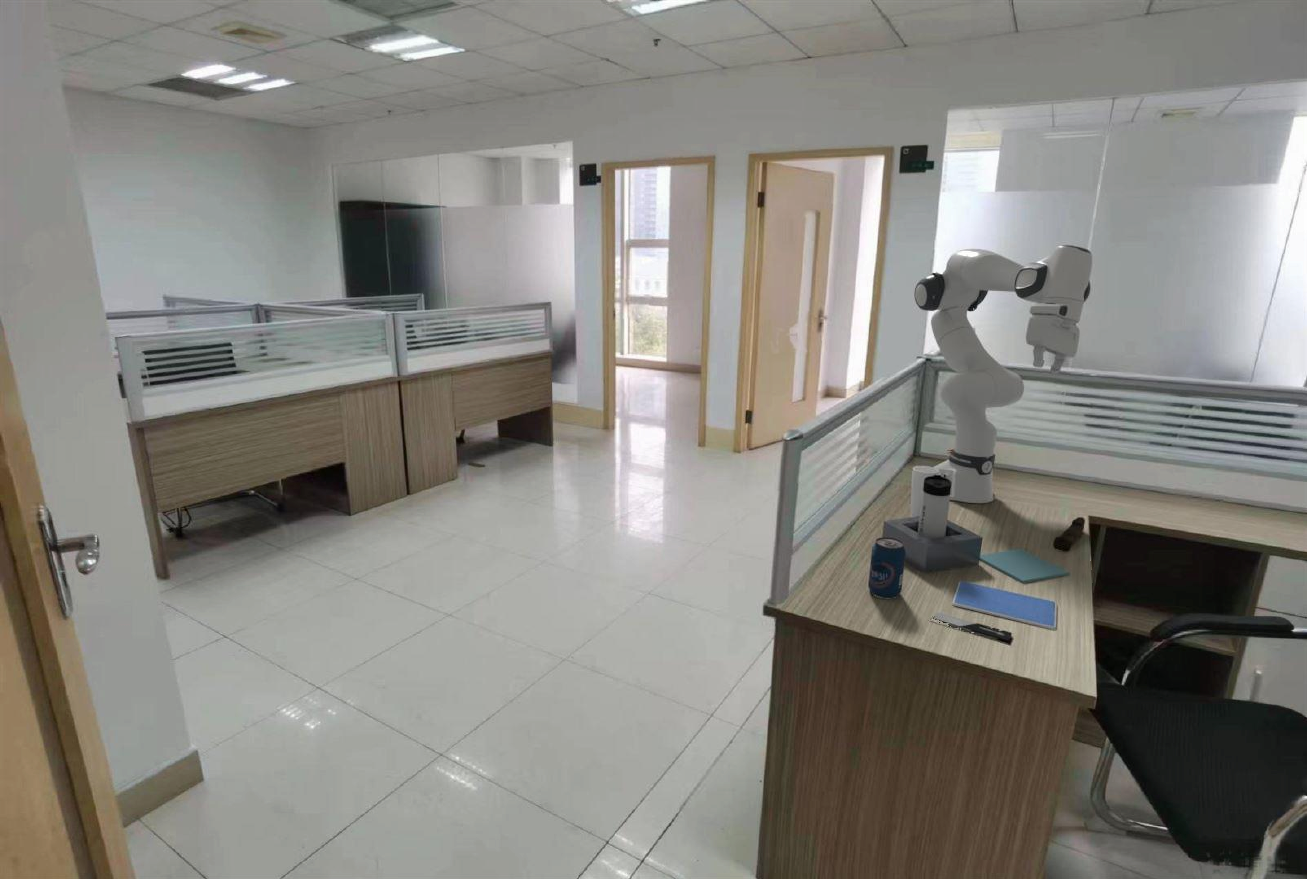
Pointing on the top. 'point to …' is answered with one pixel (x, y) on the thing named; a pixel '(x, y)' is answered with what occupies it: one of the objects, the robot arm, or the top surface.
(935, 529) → the travel mug
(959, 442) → the robot arm
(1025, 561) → the rubber mat
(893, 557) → the soda can
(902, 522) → the square collar
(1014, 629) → the top surface
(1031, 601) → the tablet computer
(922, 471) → the white tall cylinder
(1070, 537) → the hand tool
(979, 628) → the knife
